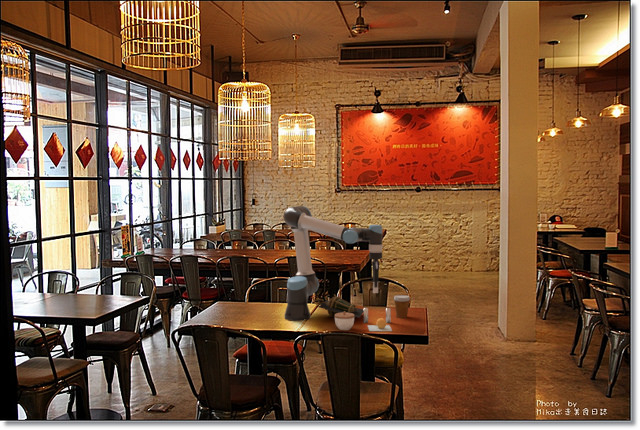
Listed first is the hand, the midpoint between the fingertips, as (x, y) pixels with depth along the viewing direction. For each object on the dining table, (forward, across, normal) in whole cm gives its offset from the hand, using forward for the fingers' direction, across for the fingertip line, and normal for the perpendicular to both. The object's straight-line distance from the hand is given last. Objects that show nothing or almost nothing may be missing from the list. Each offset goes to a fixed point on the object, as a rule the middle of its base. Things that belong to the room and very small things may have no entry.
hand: (375, 292), depth 329 cm
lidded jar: (+16, -22, +19) cm, 33 cm away
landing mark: (+15, -21, 0) cm, 26 cm away
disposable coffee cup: (+16, +6, -16) cm, 23 cm away
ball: (+13, -21, -1) cm, 25 cm away
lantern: (+16, +5, +22) cm, 27 cm away
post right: (+15, -8, -6) cm, 18 cm away
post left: (+15, -8, +6) cm, 18 cm away
